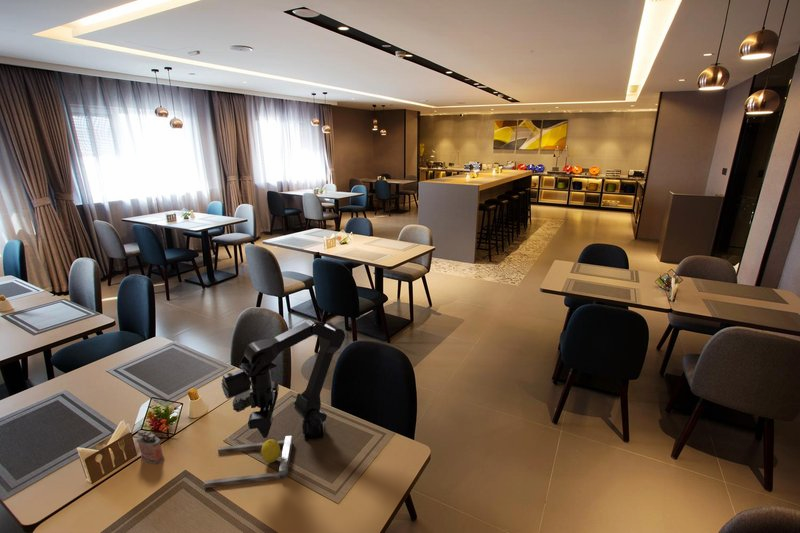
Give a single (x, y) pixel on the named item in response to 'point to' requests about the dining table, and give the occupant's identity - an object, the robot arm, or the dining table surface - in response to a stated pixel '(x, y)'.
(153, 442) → the pink grey container
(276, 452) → the lemon
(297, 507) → the dining table surface
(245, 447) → the channel
